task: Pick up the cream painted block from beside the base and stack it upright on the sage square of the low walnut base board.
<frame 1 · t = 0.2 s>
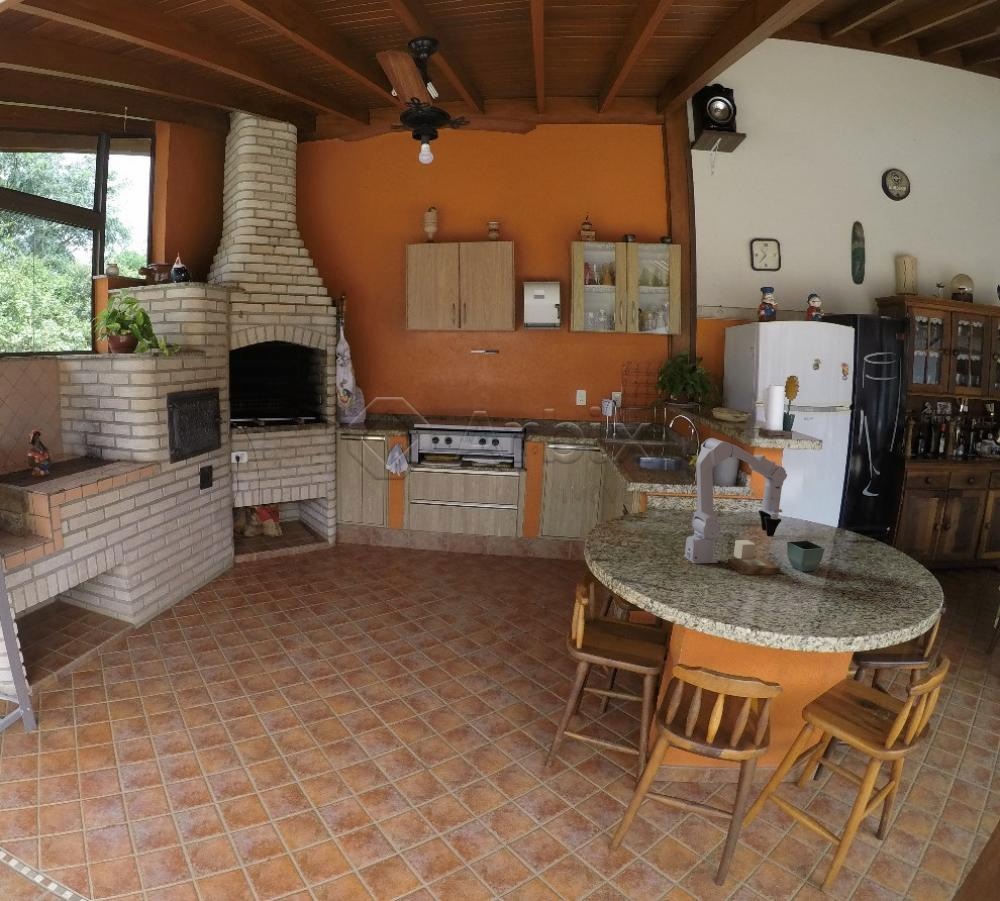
hand: (767, 533, 231), 9 cm above the breakfast bar, fingers open, 7 cm apart
flower pot: (802, 569, 222), on the breakfast bar
cream block: (743, 557, 232), on the breakfast bar
walnut base: (753, 568, 221), on the breakfast bar
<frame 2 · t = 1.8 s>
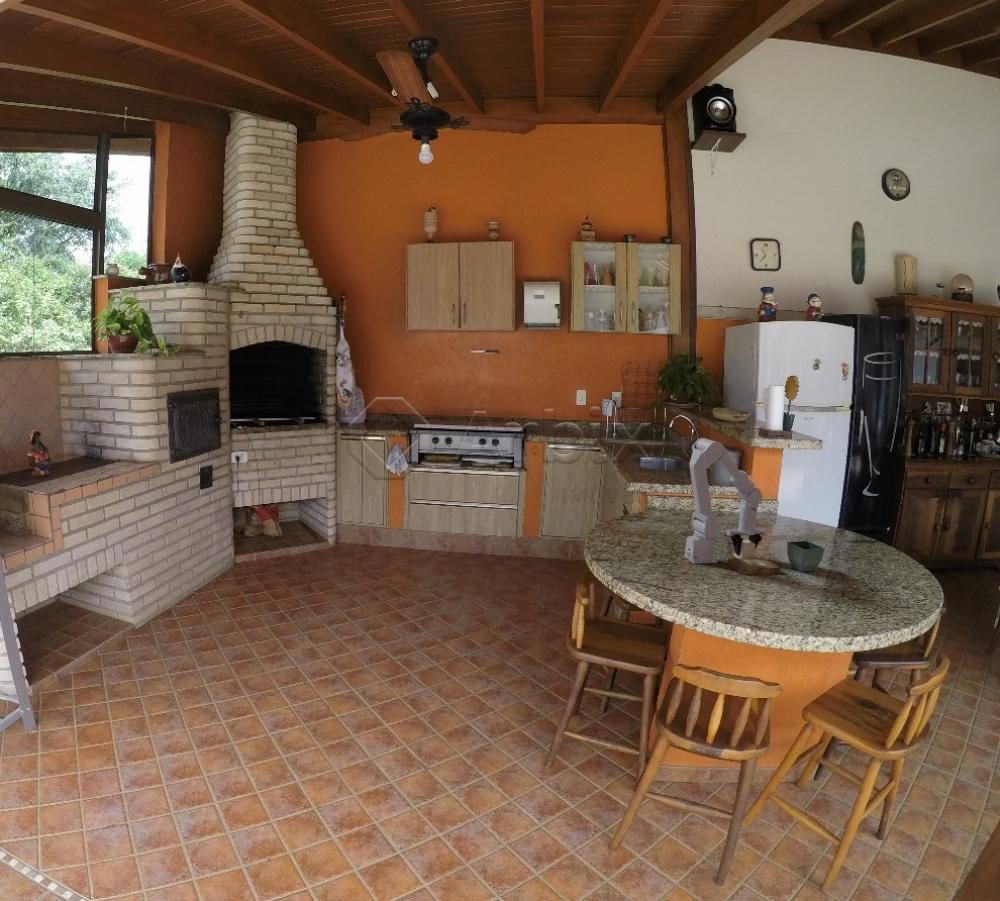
hand: (744, 554, 232), 1 cm above the breakfast bar, fingers closed on cream block, 5 cm apart
cream block: (743, 557, 232), on the breakfast bar, touching gripper
everything else where it was.
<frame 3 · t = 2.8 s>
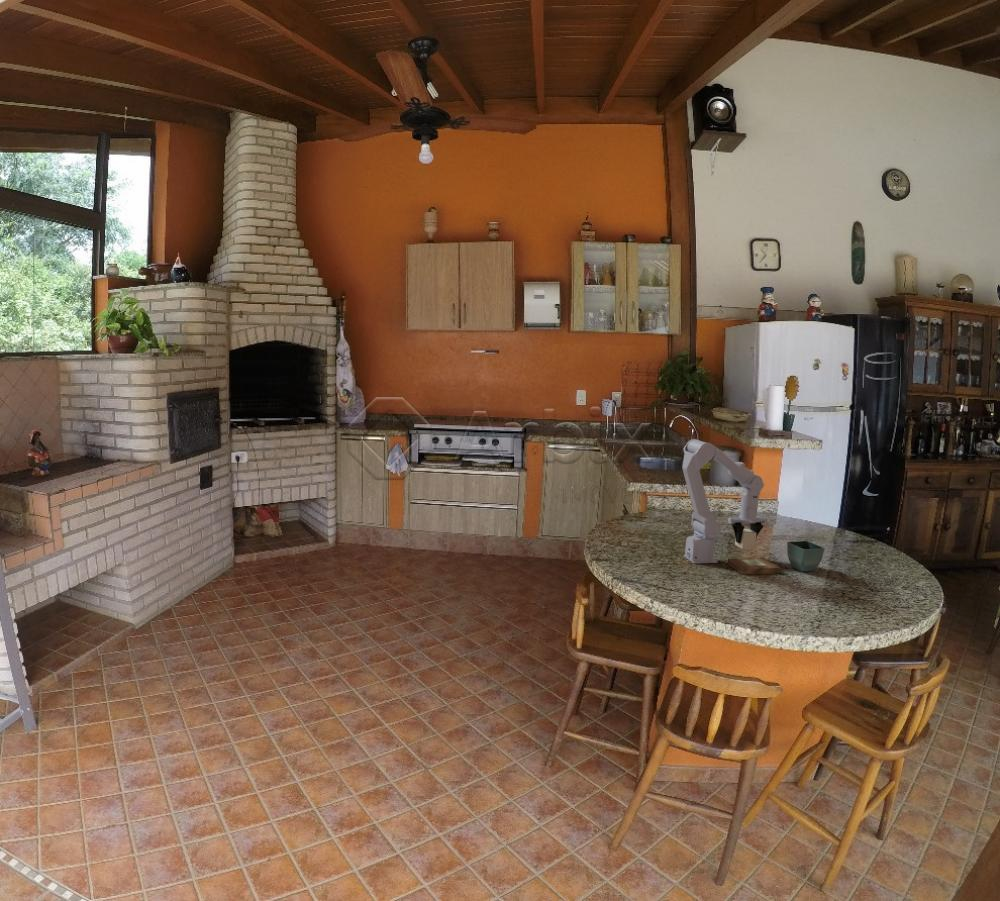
hand: (745, 542, 231), 6 cm above the breakfast bar, fingers closed on cream block, 5 cm apart
cream block: (744, 546, 231), point 4 cm above the breakfast bar, touching gripper
everything else where it was.
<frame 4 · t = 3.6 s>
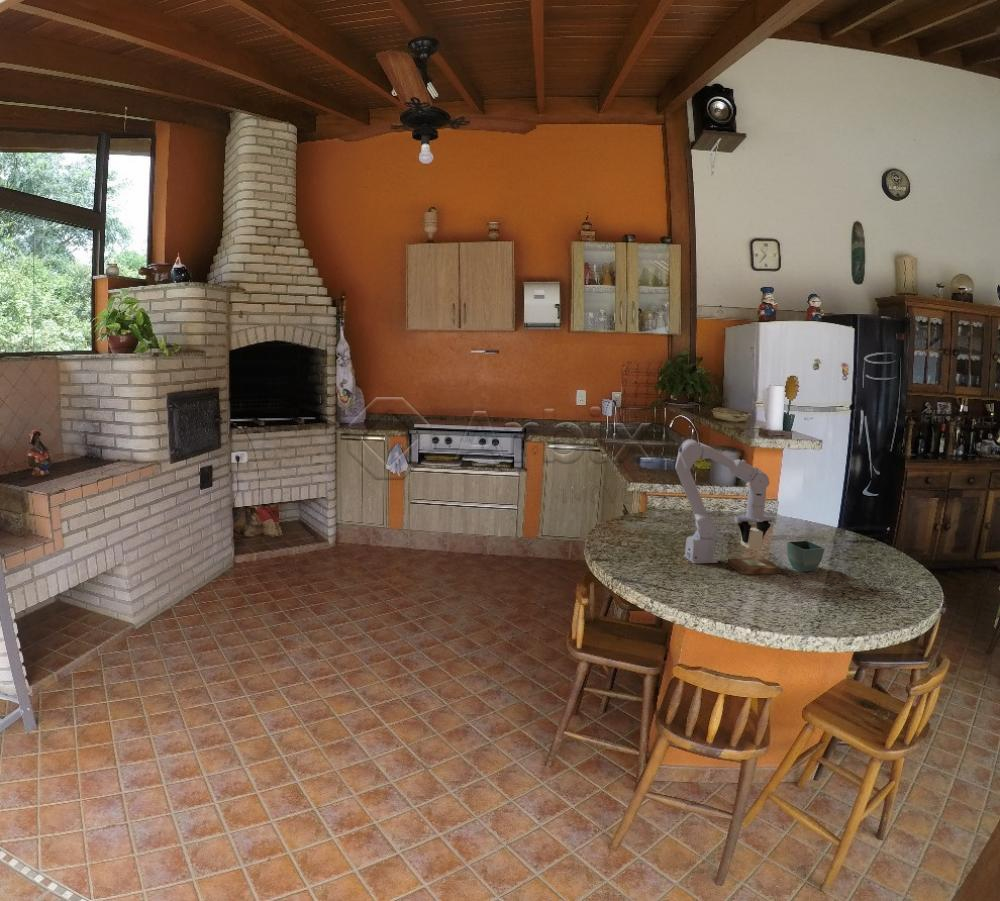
hand: (751, 541, 224), 8 cm above the breakfast bar, fingers closed on cream block, 5 cm apart
cream block: (751, 546, 224), point 7 cm above the breakfast bar, touching gripper
everything else where it was.
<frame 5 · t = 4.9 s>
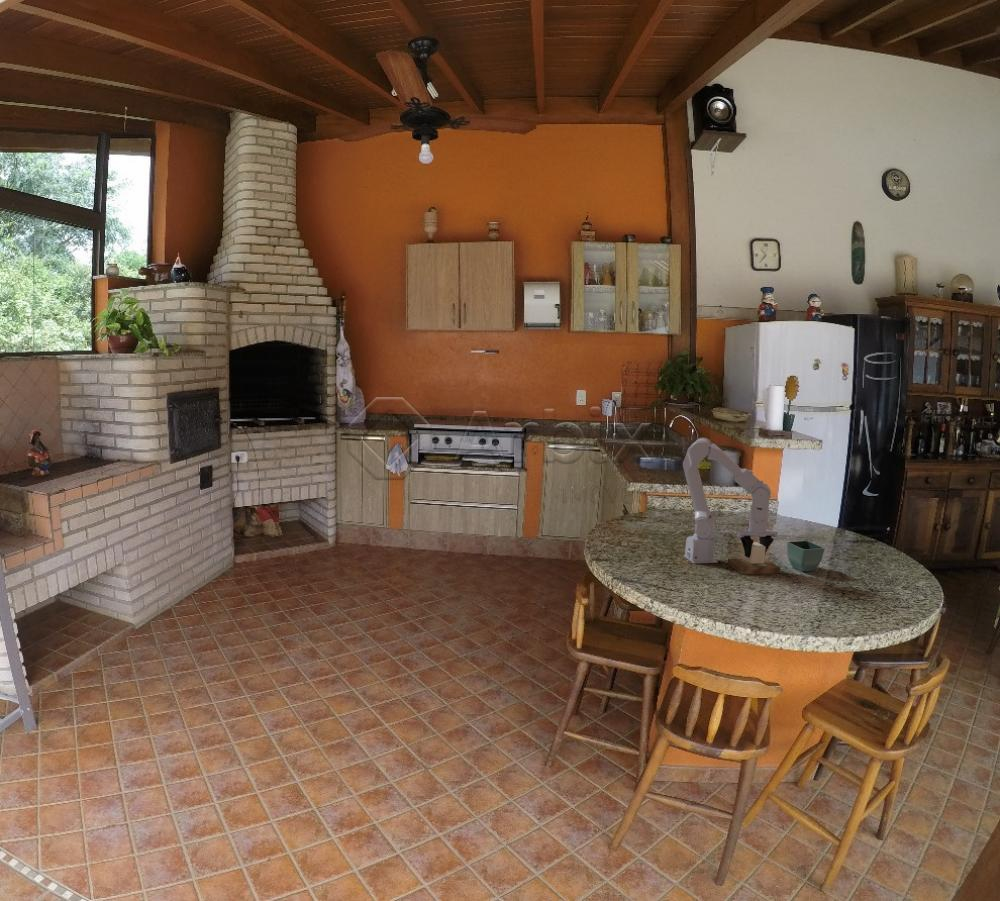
hand: (754, 556, 220), 4 cm above the breakfast bar, fingers closed on cream block, 5 cm apart
cream block: (753, 561, 221), point 3 cm above the breakfast bar, touching gripper
everything else where it was.
when the fingers open (4 cm above the breakfast bar, at t = 5.5 s): cream block stays where it is, resting on walnut base.
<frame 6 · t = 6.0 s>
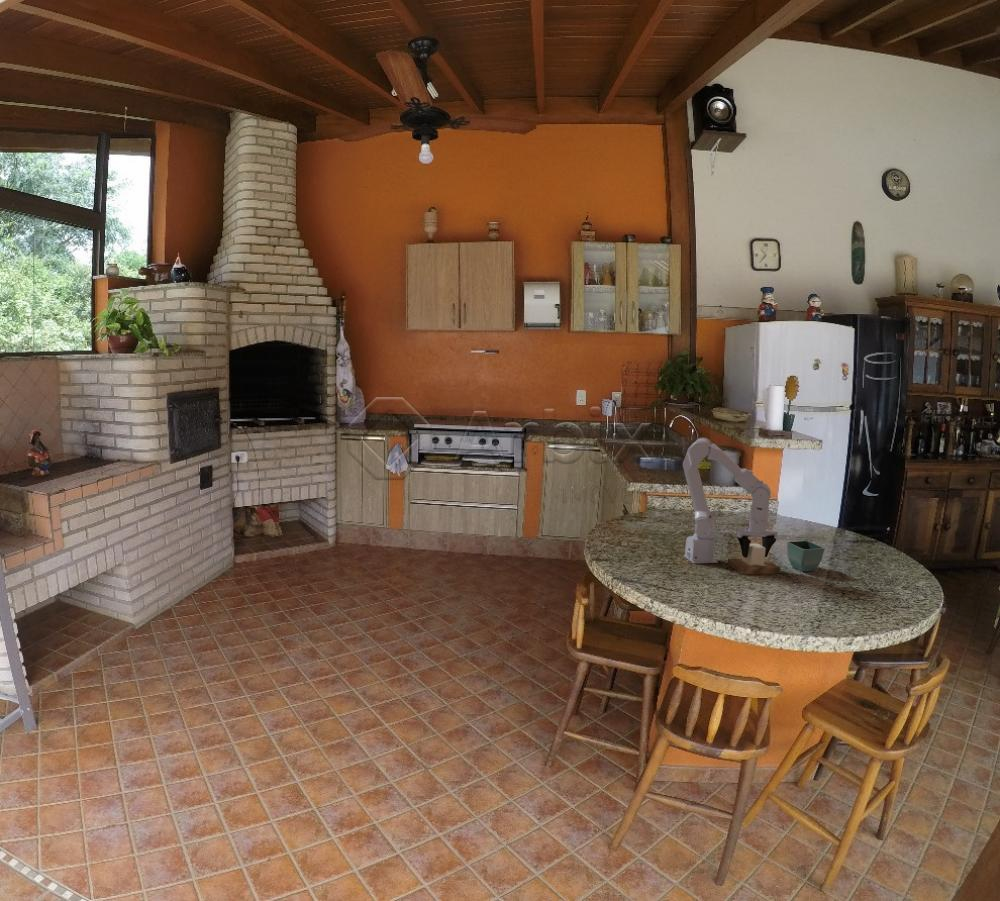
hand: (754, 556, 220), 4 cm above the breakfast bar, fingers open, 7 cm apart
cream block: (753, 562, 221), point 2 cm above the breakfast bar, touching walnut base
everything else where it was.
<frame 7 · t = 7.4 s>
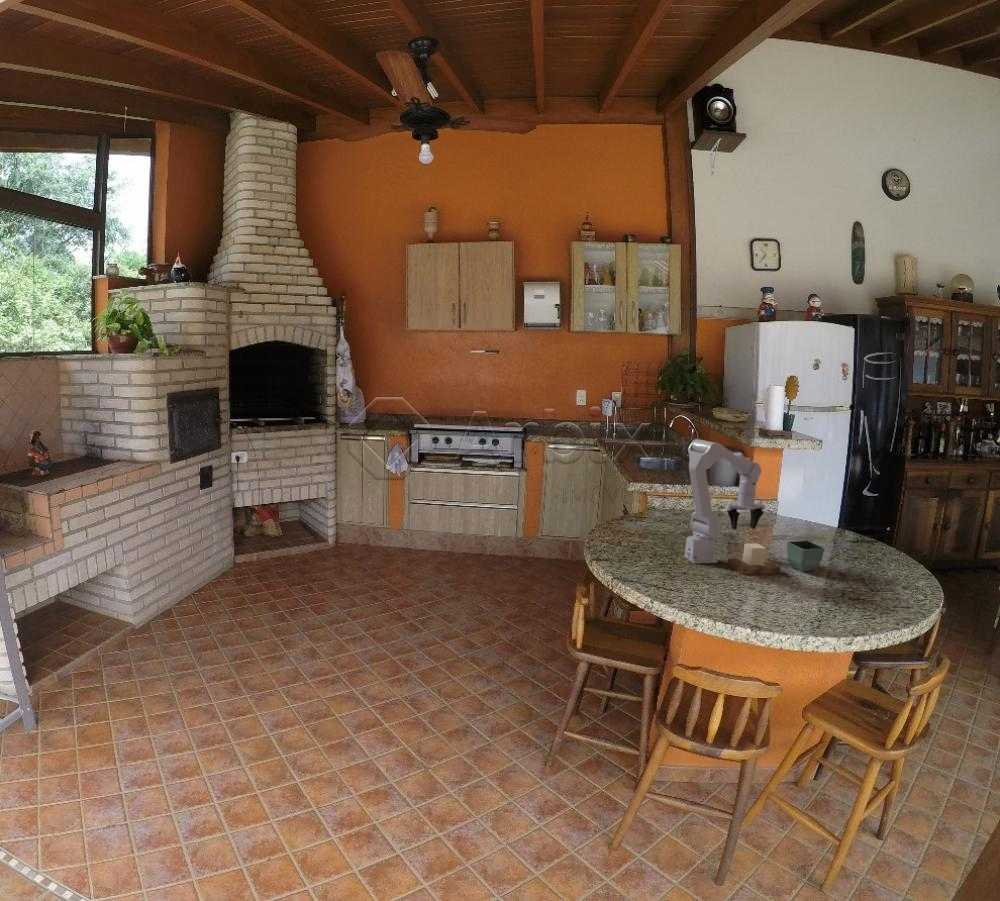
hand: (743, 528, 236), 10 cm above the breakfast bar, fingers open, 7 cm apart
nothing on the breakfast bar moved.
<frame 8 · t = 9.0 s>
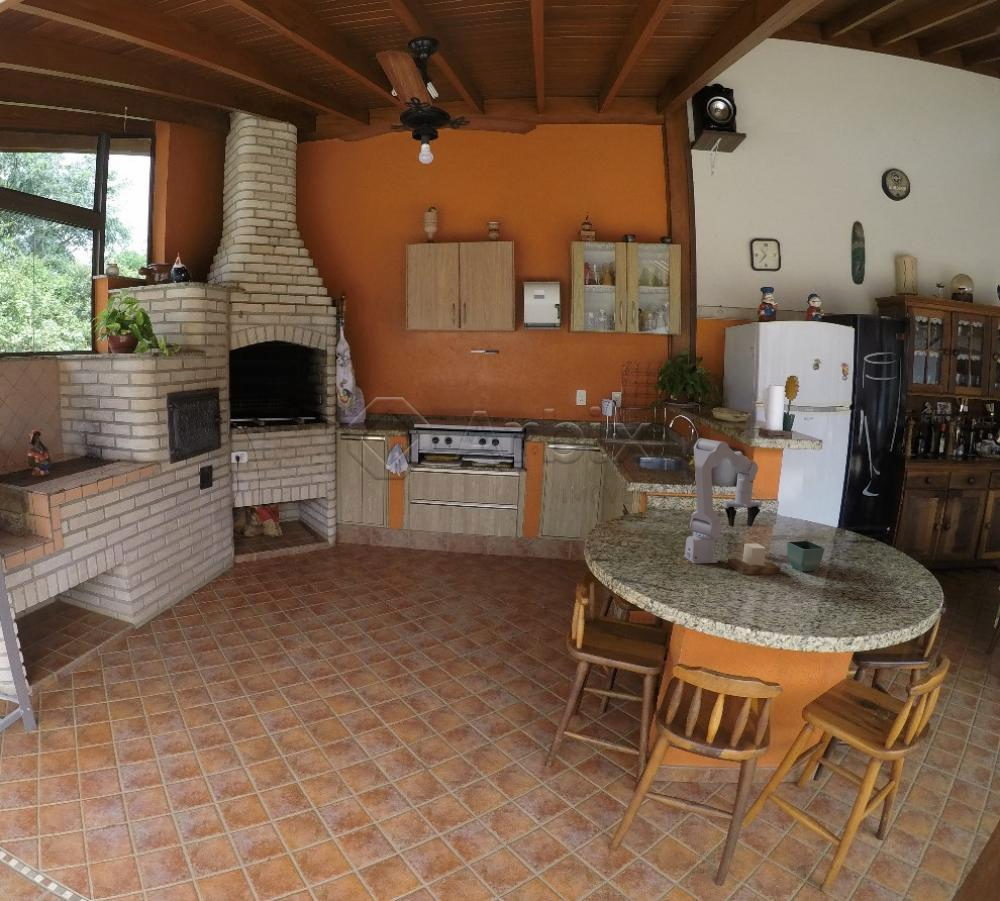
hand: (740, 525, 240), 9 cm above the breakfast bar, fingers open, 7 cm apart
nothing on the breakfast bar moved.
at the end: cream block inside the target area on the walnut base (0.3 cm from its centre), point 2.2 cm above the walnut base's base; cream block tilted 0°; the gripper is holding nothing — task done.
